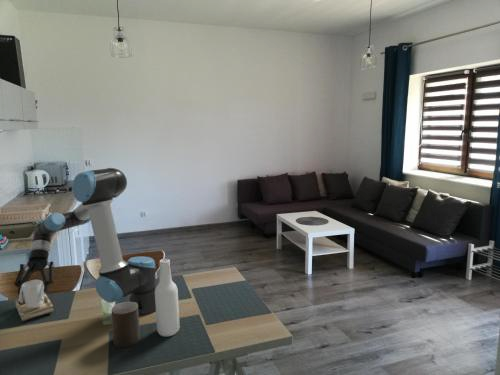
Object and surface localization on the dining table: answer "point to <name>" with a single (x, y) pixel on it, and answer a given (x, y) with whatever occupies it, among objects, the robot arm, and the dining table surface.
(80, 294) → the dining table surface
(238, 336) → the dining table surface
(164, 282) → the alcohol
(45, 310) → the wooden tray
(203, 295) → the dining table surface
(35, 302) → the white cup
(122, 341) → the pillar candle
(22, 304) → the walnut block
